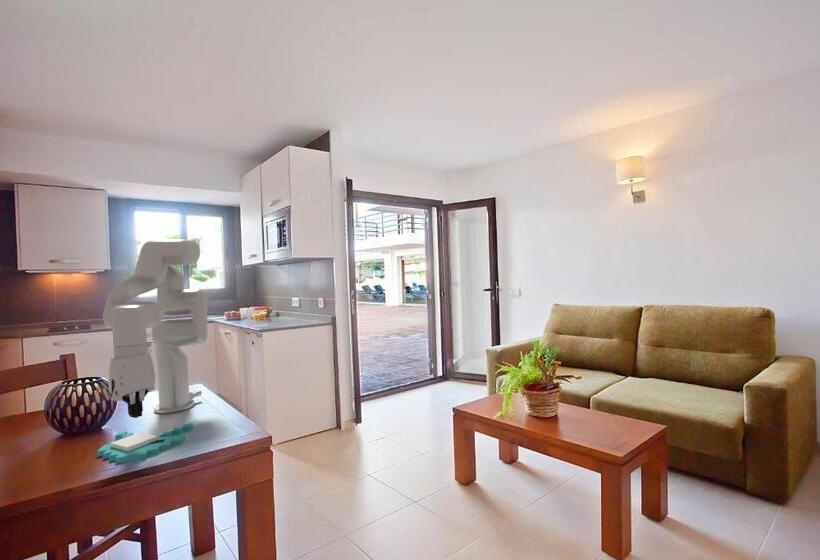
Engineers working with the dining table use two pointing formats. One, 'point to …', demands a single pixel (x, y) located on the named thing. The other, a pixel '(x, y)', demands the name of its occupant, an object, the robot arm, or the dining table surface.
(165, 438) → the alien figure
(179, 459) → the dining table surface
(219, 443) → the dining table surface
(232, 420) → the dining table surface
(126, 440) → the tile
